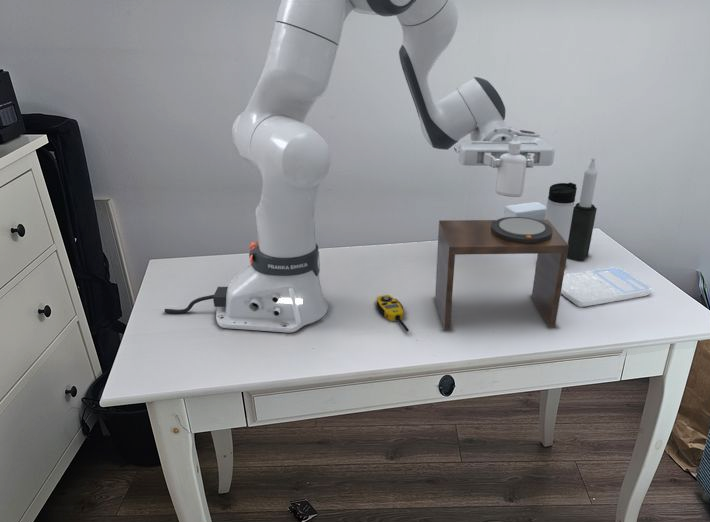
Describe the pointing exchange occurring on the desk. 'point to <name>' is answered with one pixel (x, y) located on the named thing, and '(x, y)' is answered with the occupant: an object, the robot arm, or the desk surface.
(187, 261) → the desk surface
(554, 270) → the desk shelf
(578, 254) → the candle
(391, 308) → the yellow walkie talkie
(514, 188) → the eye dropper bottle
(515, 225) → the hot plate
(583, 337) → the desk surface
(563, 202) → the travel mug
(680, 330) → the desk surface
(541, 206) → the cosmetics box
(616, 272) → the calculator
